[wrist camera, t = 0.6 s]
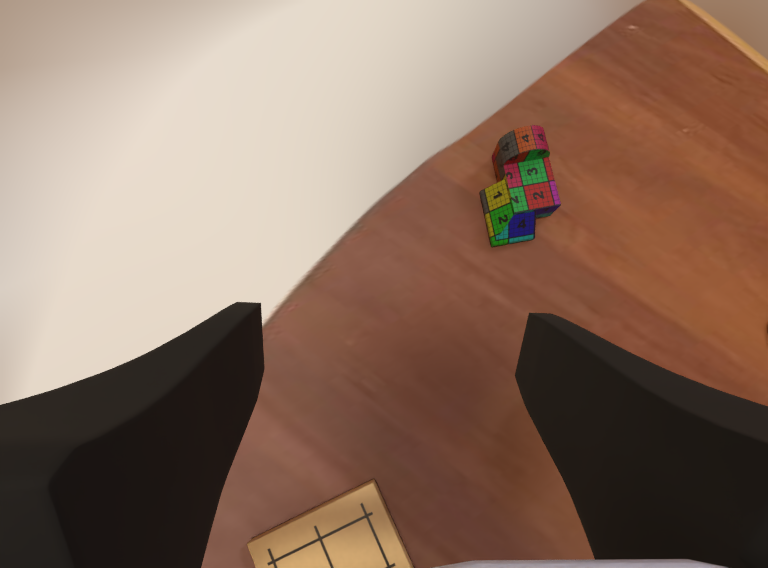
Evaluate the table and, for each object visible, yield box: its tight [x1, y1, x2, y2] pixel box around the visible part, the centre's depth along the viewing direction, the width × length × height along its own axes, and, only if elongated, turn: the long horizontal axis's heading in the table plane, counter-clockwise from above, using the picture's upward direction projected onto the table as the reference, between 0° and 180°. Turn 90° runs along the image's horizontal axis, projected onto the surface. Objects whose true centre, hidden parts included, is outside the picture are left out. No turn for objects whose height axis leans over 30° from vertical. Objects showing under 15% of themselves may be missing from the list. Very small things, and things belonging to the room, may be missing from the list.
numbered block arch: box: [480, 125, 561, 247], centre depth 35 cm, size 8×5×4 cm
